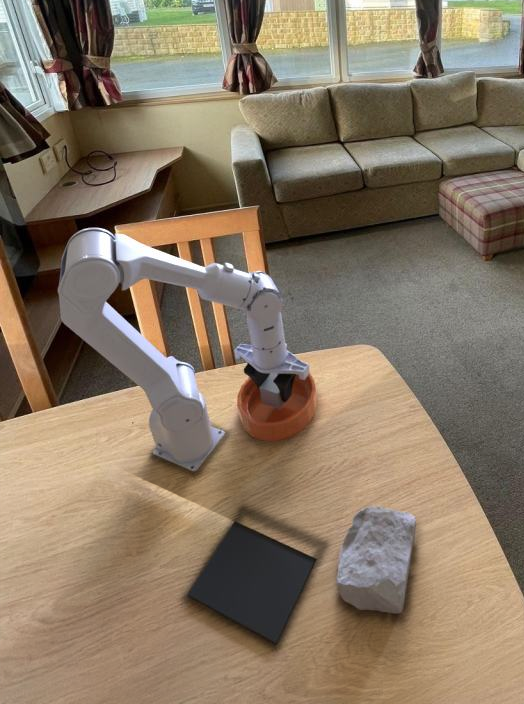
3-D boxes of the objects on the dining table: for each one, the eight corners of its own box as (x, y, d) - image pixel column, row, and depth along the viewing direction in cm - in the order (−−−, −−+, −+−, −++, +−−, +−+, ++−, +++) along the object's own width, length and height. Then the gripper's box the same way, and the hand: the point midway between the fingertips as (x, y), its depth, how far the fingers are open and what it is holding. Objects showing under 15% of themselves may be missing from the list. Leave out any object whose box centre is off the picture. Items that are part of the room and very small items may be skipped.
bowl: (224, 428, 88) (220, 411, 86) (269, 372, 100) (266, 355, 98) (292, 453, 83) (289, 436, 81) (330, 391, 95) (328, 374, 93)
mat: (187, 596, 65) (187, 594, 65) (242, 510, 75) (242, 508, 75) (276, 644, 60) (276, 643, 60) (322, 546, 70) (322, 544, 70)
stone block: (335, 611, 64) (408, 620, 61) (326, 588, 63) (400, 597, 60) (358, 521, 75) (421, 525, 72) (351, 500, 73) (415, 504, 70)
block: (262, 403, 89) (259, 387, 87) (274, 387, 92) (271, 371, 91) (280, 409, 88) (277, 394, 86) (292, 393, 91) (289, 377, 89)
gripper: (315, 333, 85) (321, 389, 90) (246, 314, 90) (256, 368, 95) (294, 361, 79) (302, 419, 85) (222, 339, 84) (234, 395, 90)
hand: (276, 394), depth 90 cm, fingers closed on block, 4 cm apart
